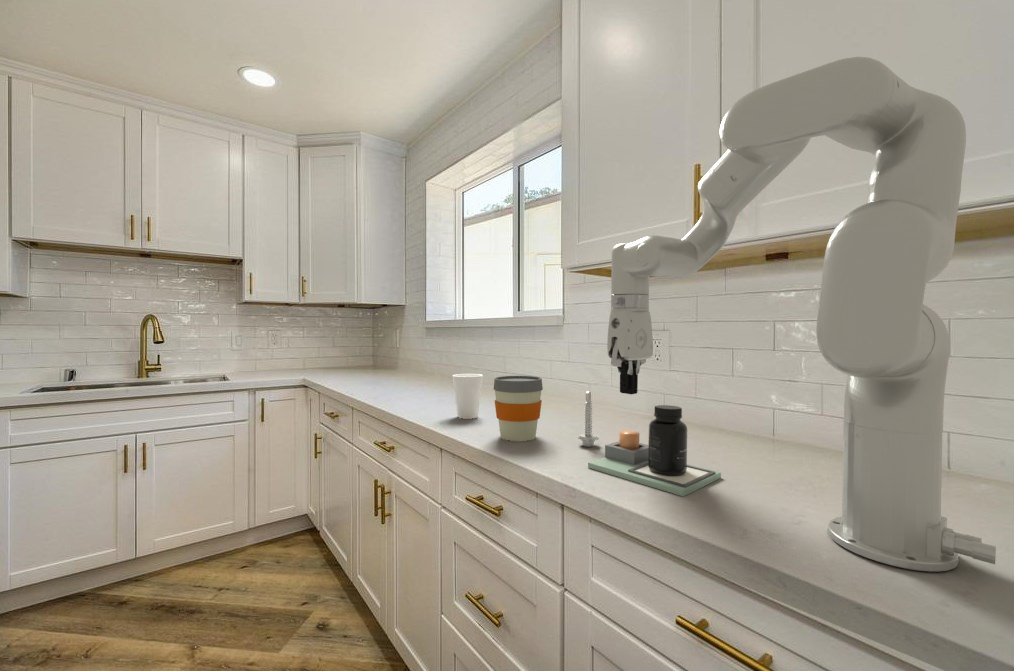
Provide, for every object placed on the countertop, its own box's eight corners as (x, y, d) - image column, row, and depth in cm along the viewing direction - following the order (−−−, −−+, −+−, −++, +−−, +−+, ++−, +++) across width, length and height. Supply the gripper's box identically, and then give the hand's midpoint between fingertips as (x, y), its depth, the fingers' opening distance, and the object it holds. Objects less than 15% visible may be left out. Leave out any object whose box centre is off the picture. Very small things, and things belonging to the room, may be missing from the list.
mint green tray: (720, 477, 83) (721, 459, 83) (683, 496, 74) (683, 475, 74) (628, 454, 98) (628, 438, 98) (587, 467, 89) (588, 450, 89)
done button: (643, 452, 92) (643, 432, 92) (632, 455, 89) (632, 436, 89) (626, 448, 95) (626, 429, 95) (615, 451, 92) (615, 432, 92)
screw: (579, 448, 103) (576, 442, 108) (600, 448, 103) (596, 442, 108) (579, 392, 103) (576, 389, 107) (600, 392, 103) (596, 389, 107)
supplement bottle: (690, 478, 79) (691, 411, 79) (650, 475, 81) (650, 409, 80) (683, 466, 86) (683, 404, 86) (646, 464, 87) (646, 403, 87)
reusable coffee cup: (486, 433, 117) (486, 376, 117) (529, 429, 122) (529, 374, 122) (504, 445, 105) (504, 382, 105) (551, 440, 110) (551, 379, 110)
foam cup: (471, 412, 146) (471, 373, 145) (489, 417, 138) (488, 375, 138) (447, 416, 140) (446, 375, 139) (463, 421, 132) (463, 377, 132)
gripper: (623, 302, 84) (622, 399, 84) (665, 304, 93) (664, 391, 94) (592, 303, 89) (591, 394, 90) (634, 305, 99) (633, 387, 100)
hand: (628, 393), depth 92 cm, fingers closed
